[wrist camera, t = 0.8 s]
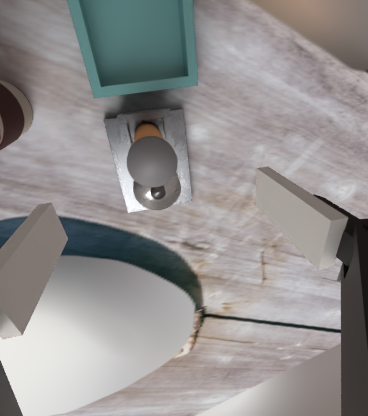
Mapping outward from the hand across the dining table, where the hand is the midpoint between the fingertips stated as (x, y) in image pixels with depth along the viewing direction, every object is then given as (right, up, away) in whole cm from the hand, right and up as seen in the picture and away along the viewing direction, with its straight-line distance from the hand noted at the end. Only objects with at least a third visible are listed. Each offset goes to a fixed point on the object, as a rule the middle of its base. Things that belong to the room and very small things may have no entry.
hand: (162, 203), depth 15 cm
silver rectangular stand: (-4, +8, +24) cm, 26 cm away
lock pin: (-4, +11, +20) cm, 24 cm away
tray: (-5, +23, +15) cm, 28 cm away
